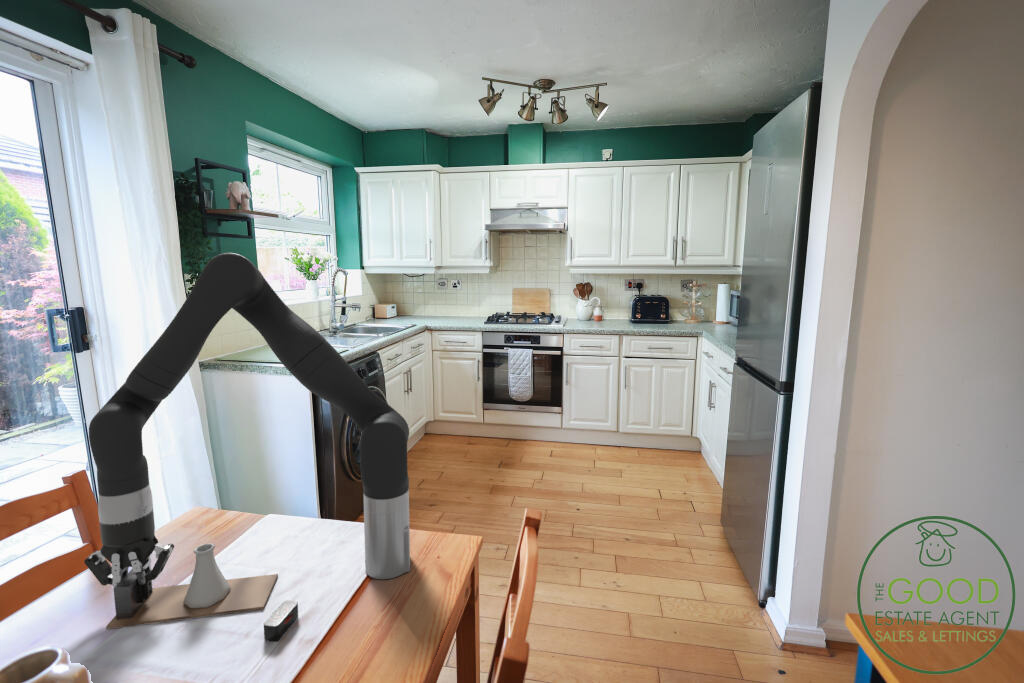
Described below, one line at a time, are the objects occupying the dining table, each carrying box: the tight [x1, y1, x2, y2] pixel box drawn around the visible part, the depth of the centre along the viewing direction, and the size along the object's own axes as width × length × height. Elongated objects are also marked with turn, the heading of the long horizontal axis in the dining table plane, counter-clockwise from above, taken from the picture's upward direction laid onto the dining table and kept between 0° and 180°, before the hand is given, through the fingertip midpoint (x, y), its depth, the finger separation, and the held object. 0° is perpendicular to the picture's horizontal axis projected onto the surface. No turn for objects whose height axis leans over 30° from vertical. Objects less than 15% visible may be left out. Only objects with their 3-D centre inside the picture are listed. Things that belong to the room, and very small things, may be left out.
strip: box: [105, 567, 279, 630], centre depth 88 cm, size 25×10×6 cm, turn 103°
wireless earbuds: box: [263, 600, 299, 643], centre depth 82 cm, size 5×7×3 cm, turn 172°
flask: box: [183, 542, 231, 608], centre depth 88 cm, size 7×7×10 cm
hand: (134, 600), depth 86 cm, fingers closed on strip, 2 cm apart
